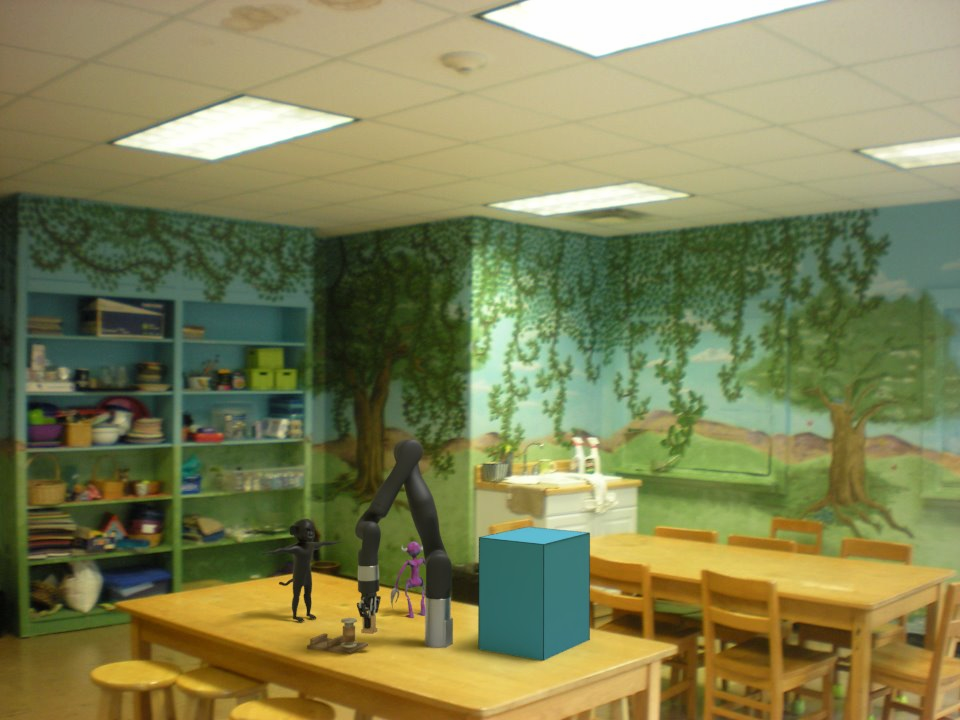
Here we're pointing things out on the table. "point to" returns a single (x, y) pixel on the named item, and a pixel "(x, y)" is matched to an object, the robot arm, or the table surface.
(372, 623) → the tan wooden block
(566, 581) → the box
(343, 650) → the board
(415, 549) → the toy
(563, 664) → the table surface
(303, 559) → the monkey
